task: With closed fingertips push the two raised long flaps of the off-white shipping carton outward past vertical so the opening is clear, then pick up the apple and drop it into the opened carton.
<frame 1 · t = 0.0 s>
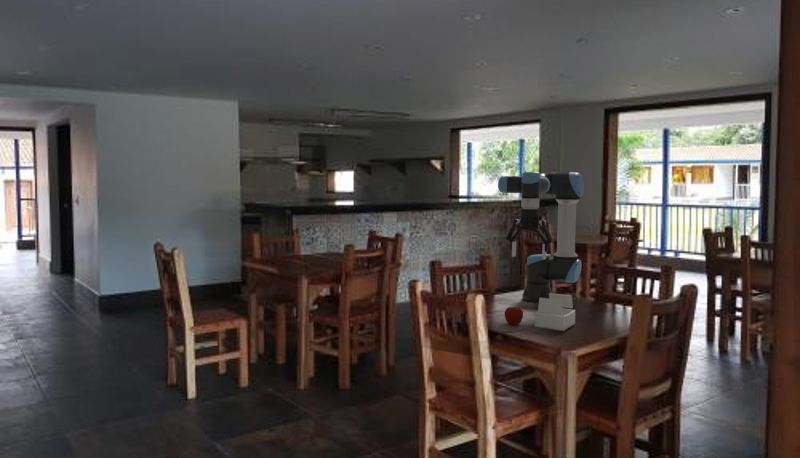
hand: (528, 258, 270), 28 cm above the table, fingers open, 13 cm apart
flap 1: (550, 306, 261), point 9 cm above the table, hinge at 72.0°
apple: (513, 324, 269), on the table
carton: (555, 325, 268), on the table
flap 2: (560, 300, 272), point 9 cm above the table, hinge at 72.0°
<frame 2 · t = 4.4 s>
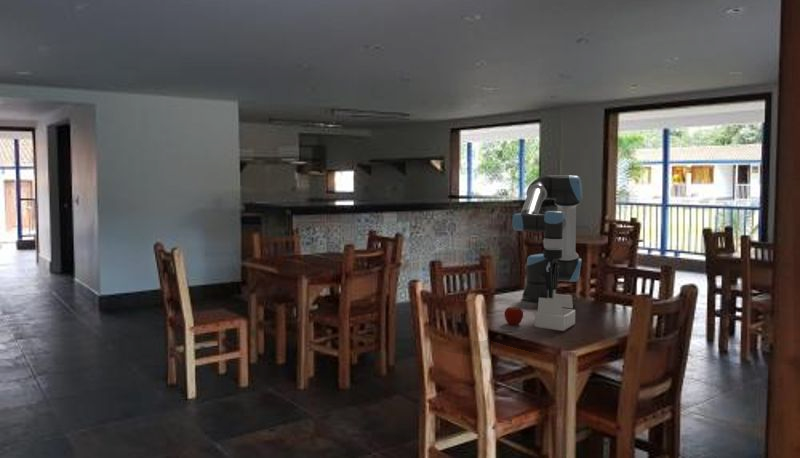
hand: (551, 305, 262), 10 cm above the table, fingers closed
flap 1: (549, 306, 261), point 10 cm above the table, hinge at 81.3°, touching gripper
everything else where it was.
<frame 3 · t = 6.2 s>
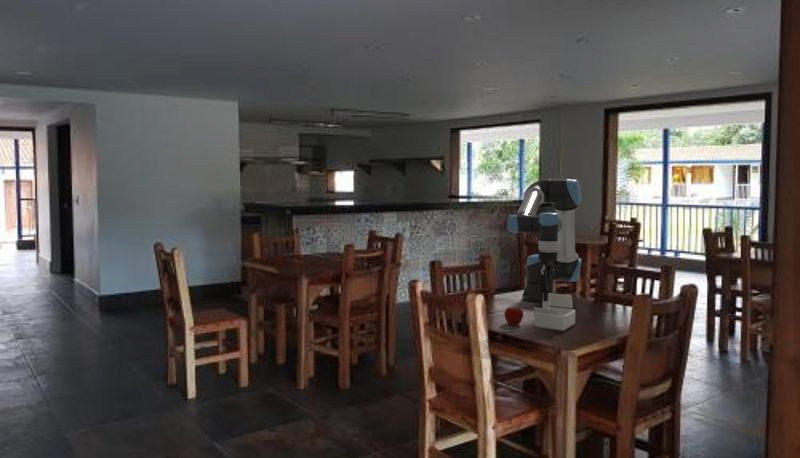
hand: (546, 308, 257), 9 cm above the table, fingers closed
flap 1: (547, 311, 258), point 8 cm above the table, hinge at 150.5°, touching gripper
everything else where it was.
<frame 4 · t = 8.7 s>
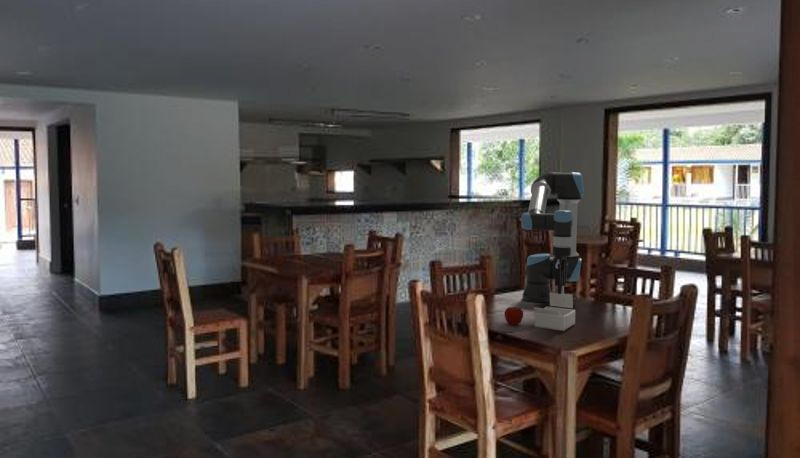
hand: (559, 300, 272), 10 cm above the table, fingers closed
flap 1: (547, 311, 258), point 8 cm above the table, hinge at 150.6°
flap 2: (561, 300, 273), point 10 cm above the table, hinge at 79.9°, touching gripper
everything else where it was.
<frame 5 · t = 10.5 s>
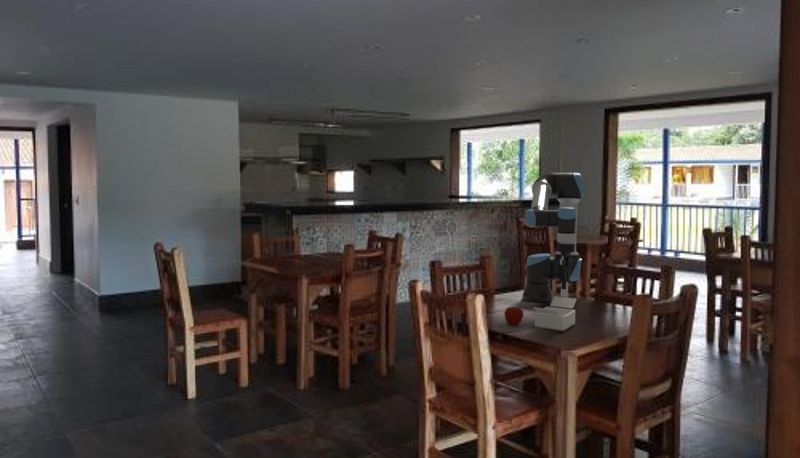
hand: (564, 296, 276), 11 cm above the table, fingers closed
flap 2: (563, 302, 276), point 8 cm above the table, hinge at 146.8°
everything else where it was.
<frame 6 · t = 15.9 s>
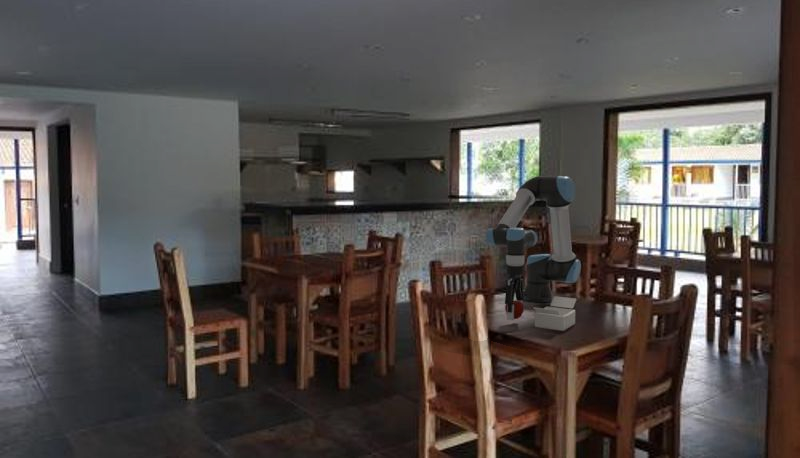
hand: (514, 317, 269), 3 cm above the table, fingers closed on apple, 8 cm apart
apple: (514, 318, 269), point 2 cm above the table, touching gripper
everything else where it was.
when the fingers open (7 cm above the table, at t = 19.8 s): apple drops 6 cm, resting on carton.
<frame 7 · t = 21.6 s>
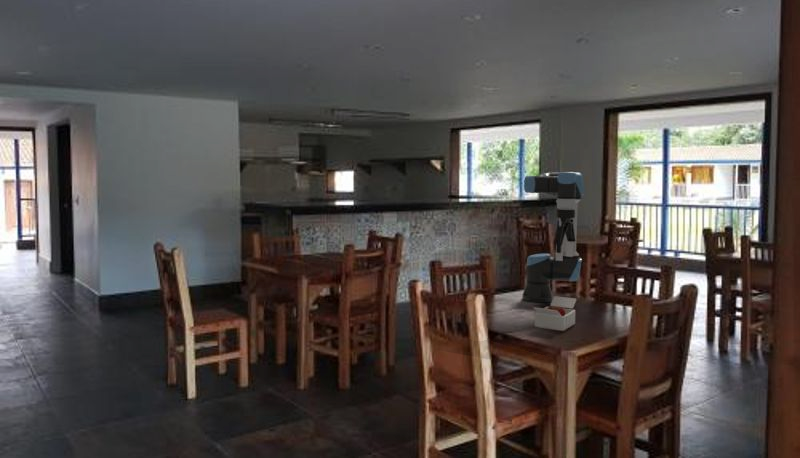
hand: (564, 258, 269), 28 cm above the table, fingers open, 13 cm apart
apple: (555, 324, 268), resting on carton
everything else where it was.
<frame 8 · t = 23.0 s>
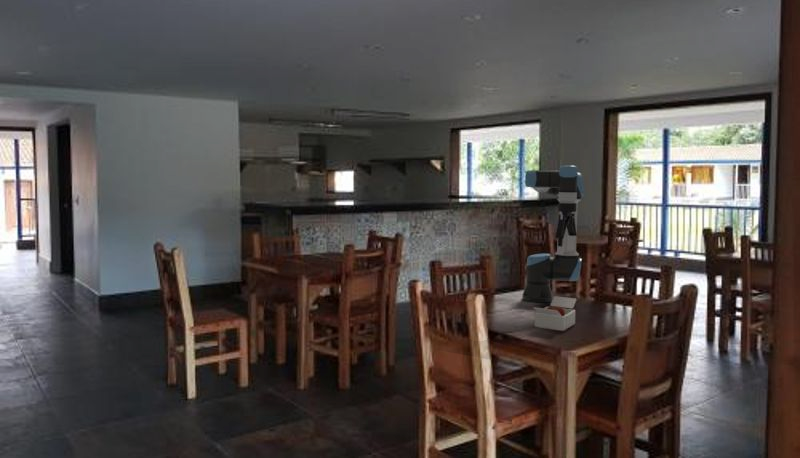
hand: (565, 252, 268), 31 cm above the table, fingers open, 13 cm apart
nothing on the table moved.
at the end: flap 1 at +151° (first picture: +72°); flap 2 at +147° (first picture: +72°); apple inside the target area on the carton (0.0 cm from its centre), point 0.3 cm above the carton's base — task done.
